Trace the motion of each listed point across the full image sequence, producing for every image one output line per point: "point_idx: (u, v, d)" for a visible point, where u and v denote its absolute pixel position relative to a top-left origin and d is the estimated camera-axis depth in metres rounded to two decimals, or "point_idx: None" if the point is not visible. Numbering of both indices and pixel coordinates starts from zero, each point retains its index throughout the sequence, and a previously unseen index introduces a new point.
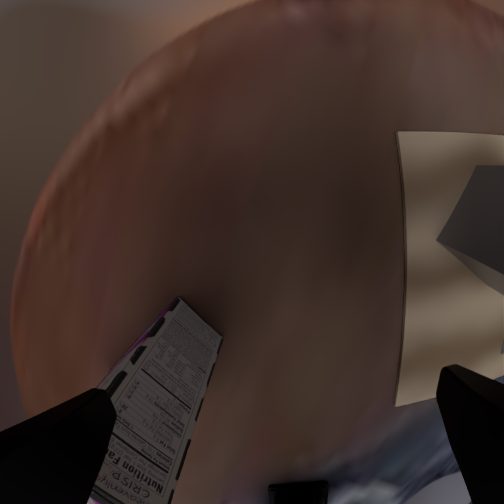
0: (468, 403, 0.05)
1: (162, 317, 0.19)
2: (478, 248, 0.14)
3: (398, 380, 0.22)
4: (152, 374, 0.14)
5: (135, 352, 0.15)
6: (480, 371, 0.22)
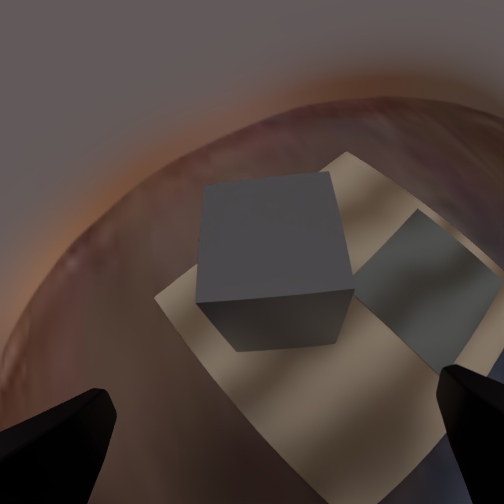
0: (468, 403, 0.05)
1: None
2: None
3: (323, 498, 0.15)
4: None
5: None
6: (434, 415, 0.16)
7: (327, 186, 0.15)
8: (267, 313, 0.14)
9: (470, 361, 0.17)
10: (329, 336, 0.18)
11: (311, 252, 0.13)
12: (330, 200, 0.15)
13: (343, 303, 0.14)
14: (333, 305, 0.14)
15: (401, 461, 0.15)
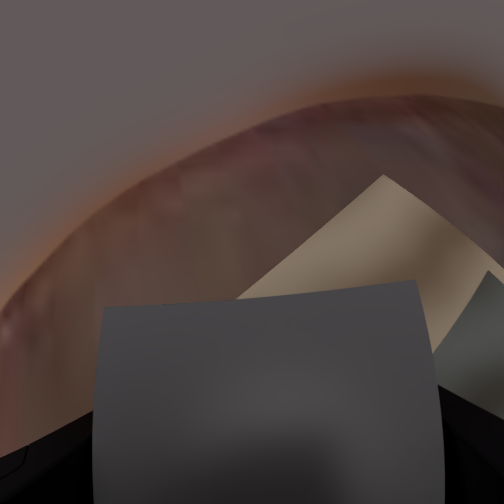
0: None
1: None
2: None
3: None
4: None
5: None
6: None
7: (414, 331, 0.05)
8: None
9: None
10: None
11: None
12: (422, 379, 0.05)
13: None
14: None
15: None
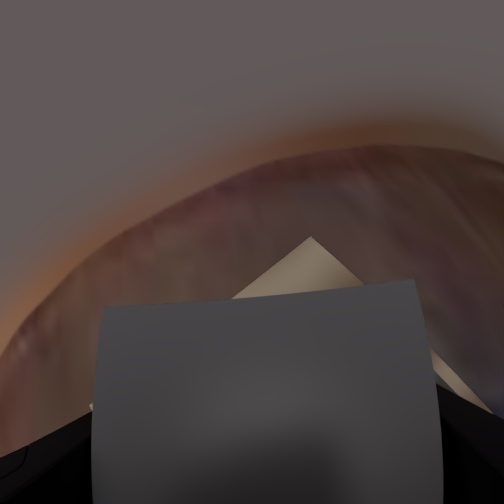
0: None
1: None
2: None
3: None
4: None
5: None
6: None
7: (412, 331, 0.05)
8: None
9: None
10: None
11: None
12: (420, 378, 0.05)
13: None
14: None
15: None
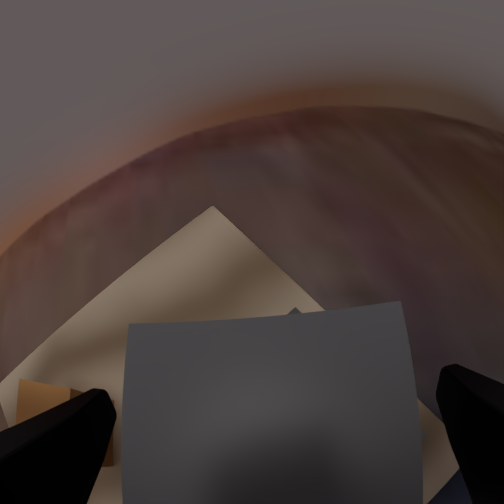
0: (468, 403, 0.05)
1: None
2: None
3: None
4: None
5: None
6: None
7: (397, 346, 0.06)
8: None
9: None
10: None
11: None
12: (403, 386, 0.06)
13: None
14: None
15: None
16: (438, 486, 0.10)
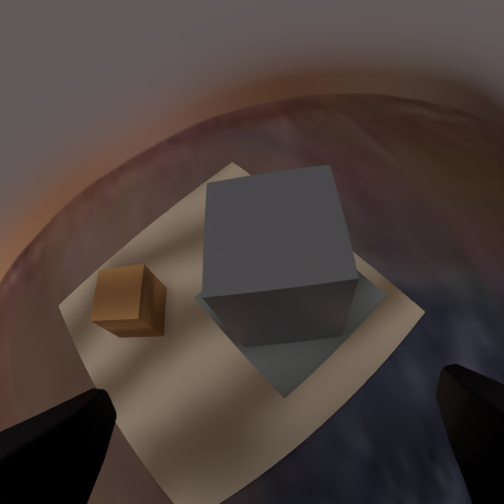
0: (468, 403, 0.05)
1: None
2: None
3: (164, 490, 0.17)
4: None
5: None
6: (273, 435, 0.18)
7: (328, 179, 0.15)
8: (272, 305, 0.15)
9: (324, 384, 0.19)
10: (335, 328, 0.18)
11: (314, 244, 0.14)
12: (331, 193, 0.15)
13: (348, 294, 0.14)
14: (338, 296, 0.14)
15: (234, 473, 0.17)
16: (402, 335, 0.19)
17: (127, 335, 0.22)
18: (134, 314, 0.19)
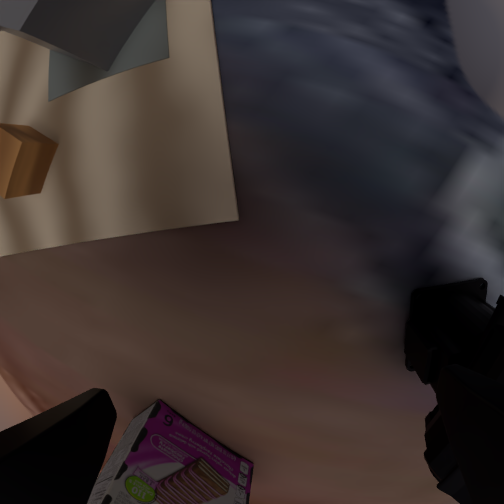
0: (468, 403, 0.05)
1: (118, 445, 0.21)
2: (58, 48, 0.12)
3: (192, 225, 0.19)
4: (99, 481, 0.16)
5: (97, 480, 0.17)
6: (193, 82, 0.17)
7: None
8: None
9: (183, 23, 0.16)
10: None
11: None
12: None
13: None
14: None
15: (208, 138, 0.18)
16: None
17: (40, 180, 0.19)
18: (17, 144, 0.15)
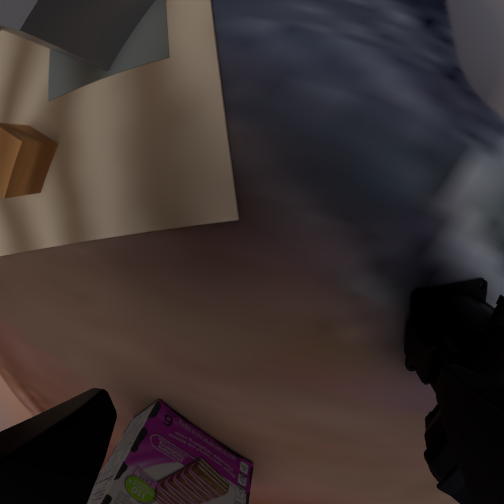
0: (468, 403, 0.05)
1: (117, 444, 0.21)
2: (58, 47, 0.12)
3: None
4: (99, 481, 0.16)
5: (97, 480, 0.16)
6: (193, 82, 0.17)
7: None
8: None
9: (183, 22, 0.16)
10: None
11: None
12: None
13: None
14: None
15: (208, 138, 0.18)
16: None
17: (40, 180, 0.19)
18: (17, 144, 0.15)
